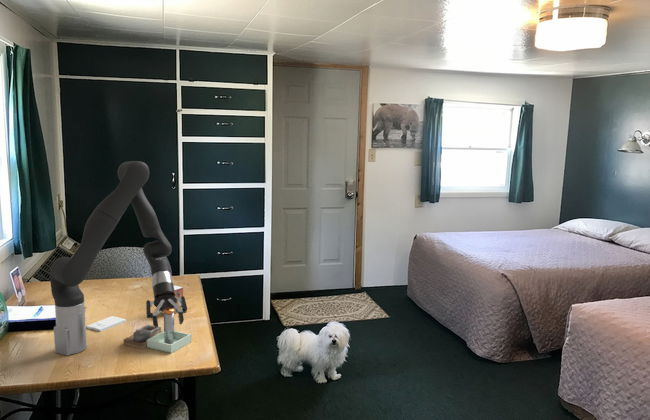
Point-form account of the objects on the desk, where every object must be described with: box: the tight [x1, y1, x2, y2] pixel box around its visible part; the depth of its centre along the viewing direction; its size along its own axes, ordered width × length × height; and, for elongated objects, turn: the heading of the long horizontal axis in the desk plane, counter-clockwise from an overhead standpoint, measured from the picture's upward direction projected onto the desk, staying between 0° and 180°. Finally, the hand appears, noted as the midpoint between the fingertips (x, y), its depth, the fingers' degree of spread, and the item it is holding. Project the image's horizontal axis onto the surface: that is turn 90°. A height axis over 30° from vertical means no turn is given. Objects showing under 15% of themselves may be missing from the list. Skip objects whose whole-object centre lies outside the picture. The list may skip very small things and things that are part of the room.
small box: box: [160, 284, 184, 315], centre depth 219 cm, size 8×6×10 cm
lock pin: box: [162, 308, 175, 344], centre depth 185 cm, size 4×4×13 cm
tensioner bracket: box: [123, 324, 164, 350], centre depth 189 cm, size 12×9×5 cm
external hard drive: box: [86, 315, 127, 333], centre depth 204 cm, size 2×8×12 cm
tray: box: [146, 330, 192, 354], centre depth 186 cm, size 11×11×3 cm
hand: (169, 325), depth 184 cm, fingers open, 8 cm apart
